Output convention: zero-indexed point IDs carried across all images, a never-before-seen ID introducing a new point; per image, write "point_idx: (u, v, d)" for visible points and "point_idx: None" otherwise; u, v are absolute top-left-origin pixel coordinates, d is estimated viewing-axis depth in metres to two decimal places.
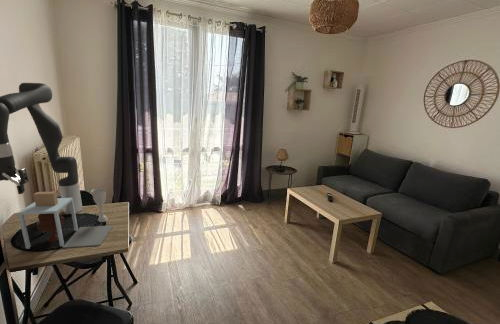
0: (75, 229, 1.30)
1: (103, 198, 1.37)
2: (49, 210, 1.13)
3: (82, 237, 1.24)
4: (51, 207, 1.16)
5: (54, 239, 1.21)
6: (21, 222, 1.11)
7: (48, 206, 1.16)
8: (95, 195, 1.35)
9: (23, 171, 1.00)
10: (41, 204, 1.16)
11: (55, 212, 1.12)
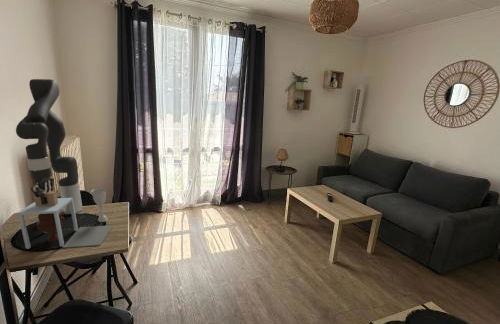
0: (75, 229, 1.30)
1: (103, 198, 1.37)
2: (49, 210, 1.13)
3: (82, 237, 1.24)
4: (51, 207, 1.16)
5: (54, 239, 1.21)
6: (21, 222, 1.11)
7: (48, 206, 1.16)
8: (95, 195, 1.35)
9: None
10: (41, 204, 1.16)
11: (55, 212, 1.12)
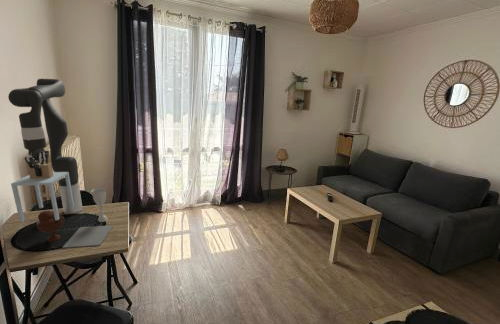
0: (71, 205, 1.26)
1: (103, 198, 1.37)
2: (43, 181, 1.09)
3: (82, 237, 1.24)
4: (45, 179, 1.12)
5: (54, 239, 1.21)
6: (14, 193, 1.07)
7: (43, 179, 1.12)
8: (95, 195, 1.35)
9: None
10: (35, 176, 1.13)
11: (50, 183, 1.09)
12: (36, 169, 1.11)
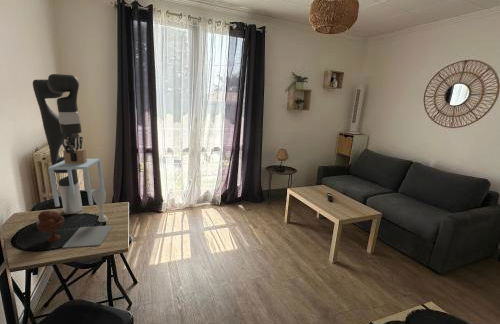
0: (102, 192, 1.27)
1: (103, 198, 1.37)
2: (79, 166, 1.10)
3: (82, 237, 1.24)
4: (80, 164, 1.13)
5: (54, 239, 1.21)
6: (51, 178, 1.08)
7: (78, 164, 1.13)
8: (95, 195, 1.35)
9: None
10: (70, 161, 1.14)
11: (85, 168, 1.09)
12: (72, 154, 1.12)
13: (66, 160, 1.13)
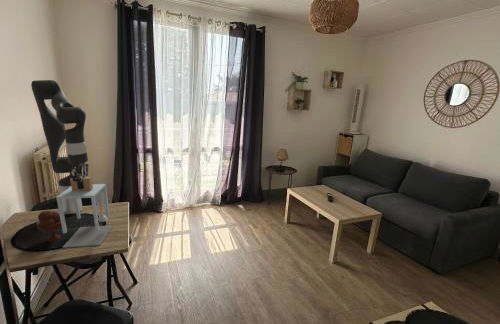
0: (107, 215, 1.31)
1: (103, 198, 1.37)
2: (86, 195, 1.14)
3: (82, 237, 1.24)
4: (87, 192, 1.17)
5: (54, 239, 1.21)
6: (59, 206, 1.12)
7: (84, 191, 1.17)
8: None
9: None
10: (77, 189, 1.18)
11: (92, 196, 1.14)
12: (78, 182, 1.16)
13: (73, 188, 1.17)
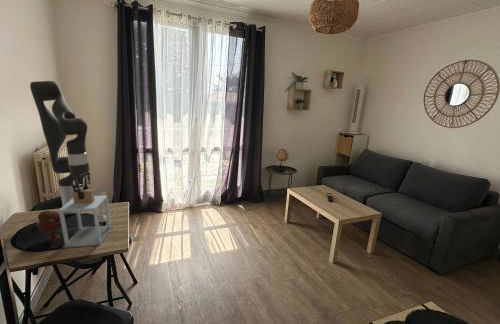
0: (108, 226, 1.33)
1: None
2: (88, 207, 1.15)
3: (82, 237, 1.24)
4: (89, 204, 1.19)
5: (54, 239, 1.21)
6: (61, 219, 1.14)
7: (86, 204, 1.19)
8: (95, 195, 1.35)
9: None
10: (79, 201, 1.19)
11: (94, 209, 1.15)
12: (79, 193, 1.16)
13: (75, 200, 1.19)
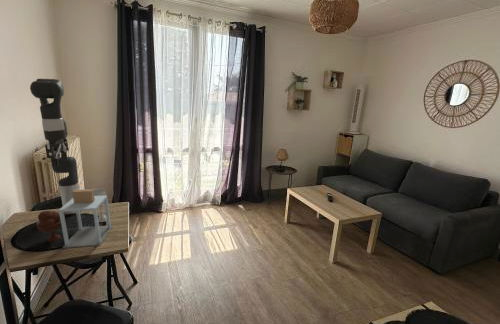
0: (108, 226, 1.33)
1: None
2: (88, 207, 1.15)
3: (82, 237, 1.24)
4: (89, 204, 1.19)
5: (54, 239, 1.21)
6: (61, 219, 1.14)
7: (86, 204, 1.19)
8: (95, 195, 1.35)
9: None
10: (79, 201, 1.19)
11: (94, 209, 1.15)
12: (53, 159, 1.10)
13: (75, 200, 1.19)
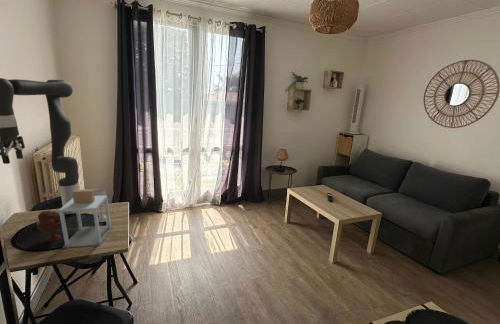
0: (108, 226, 1.33)
1: None
2: (88, 207, 1.15)
3: (82, 237, 1.24)
4: (89, 204, 1.19)
5: (54, 239, 1.21)
6: (61, 219, 1.14)
7: (86, 204, 1.19)
8: (95, 195, 1.35)
9: None
10: (79, 201, 1.19)
11: (94, 209, 1.15)
12: (3, 156, 1.09)
13: (75, 200, 1.19)
